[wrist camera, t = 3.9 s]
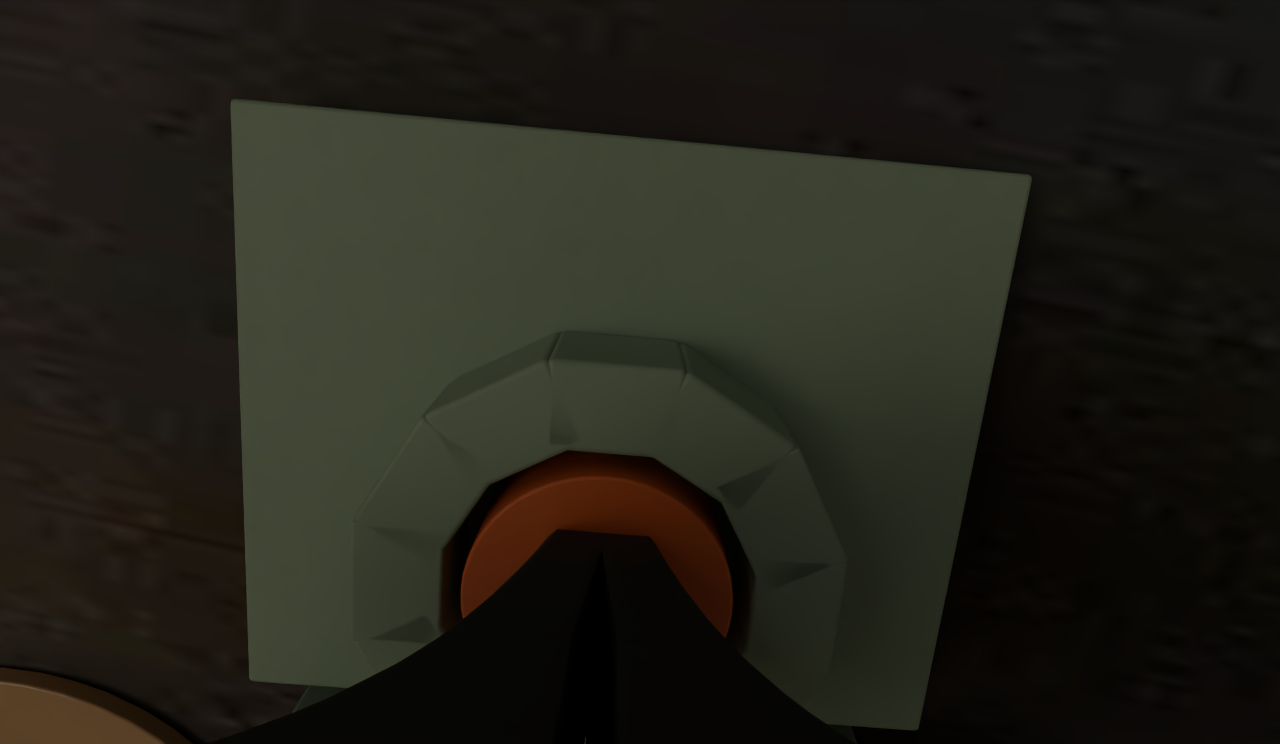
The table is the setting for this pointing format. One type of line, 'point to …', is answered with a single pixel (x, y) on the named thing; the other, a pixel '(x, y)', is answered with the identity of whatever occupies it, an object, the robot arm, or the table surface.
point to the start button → (602, 523)
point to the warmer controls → (608, 375)
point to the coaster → (72, 714)
